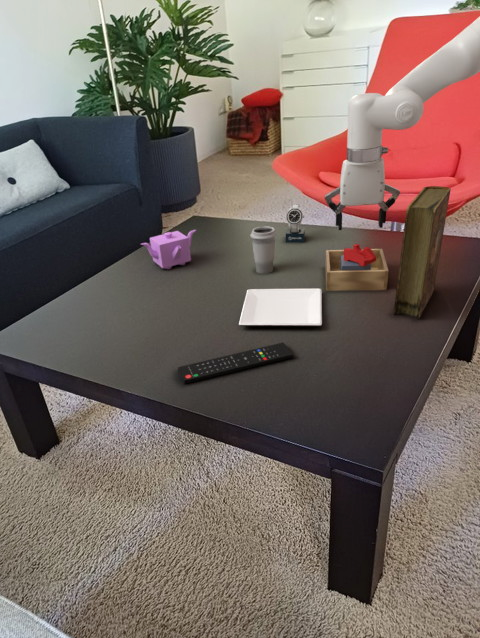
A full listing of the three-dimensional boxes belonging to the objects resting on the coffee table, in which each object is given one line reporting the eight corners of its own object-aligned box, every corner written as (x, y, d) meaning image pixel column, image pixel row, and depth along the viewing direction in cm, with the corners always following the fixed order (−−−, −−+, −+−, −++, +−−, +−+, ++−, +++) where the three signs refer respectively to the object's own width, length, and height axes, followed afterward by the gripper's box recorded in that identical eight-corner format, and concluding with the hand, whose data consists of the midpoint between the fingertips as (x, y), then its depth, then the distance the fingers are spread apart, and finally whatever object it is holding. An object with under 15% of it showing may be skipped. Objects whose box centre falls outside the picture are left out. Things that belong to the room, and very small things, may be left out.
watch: (284, 245, 162) (284, 210, 156) (287, 236, 169) (287, 202, 163) (303, 245, 161) (303, 210, 155) (305, 236, 167) (305, 201, 161)
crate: (380, 268, 142) (382, 248, 139) (386, 291, 130) (388, 271, 127) (325, 269, 145) (325, 250, 142) (326, 292, 133) (327, 272, 130)
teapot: (153, 279, 150) (148, 247, 145) (138, 265, 161) (132, 234, 155) (209, 264, 156) (206, 232, 151) (190, 251, 166) (187, 221, 161)
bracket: (343, 260, 135) (344, 249, 133) (355, 254, 137) (356, 243, 136) (363, 266, 131) (364, 255, 129) (376, 260, 133) (377, 249, 131)
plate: (247, 295, 136) (247, 288, 135) (321, 295, 132) (321, 287, 131) (238, 331, 121) (238, 323, 120) (321, 332, 117) (321, 324, 116)
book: (411, 287, 131) (425, 185, 117) (434, 291, 128) (452, 186, 114) (393, 317, 120) (406, 207, 106) (418, 321, 117) (435, 209, 103)
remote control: (293, 359, 109) (293, 354, 108) (182, 386, 105) (181, 381, 104) (283, 347, 113) (283, 342, 113) (176, 373, 109) (175, 367, 109)
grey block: (367, 272, 139) (368, 254, 137) (369, 283, 134) (371, 265, 131) (339, 272, 141) (340, 255, 138) (341, 283, 135) (342, 265, 132)
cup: (275, 265, 151) (274, 224, 144) (279, 274, 145) (278, 232, 138) (250, 267, 151) (248, 227, 144) (253, 277, 145) (251, 235, 139)
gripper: (401, 147, 121) (394, 220, 131) (324, 154, 125) (323, 224, 134) (405, 154, 115) (398, 230, 125) (325, 161, 119) (324, 234, 128)
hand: (360, 227), depth 130 cm, fingers open, 9 cm apart
